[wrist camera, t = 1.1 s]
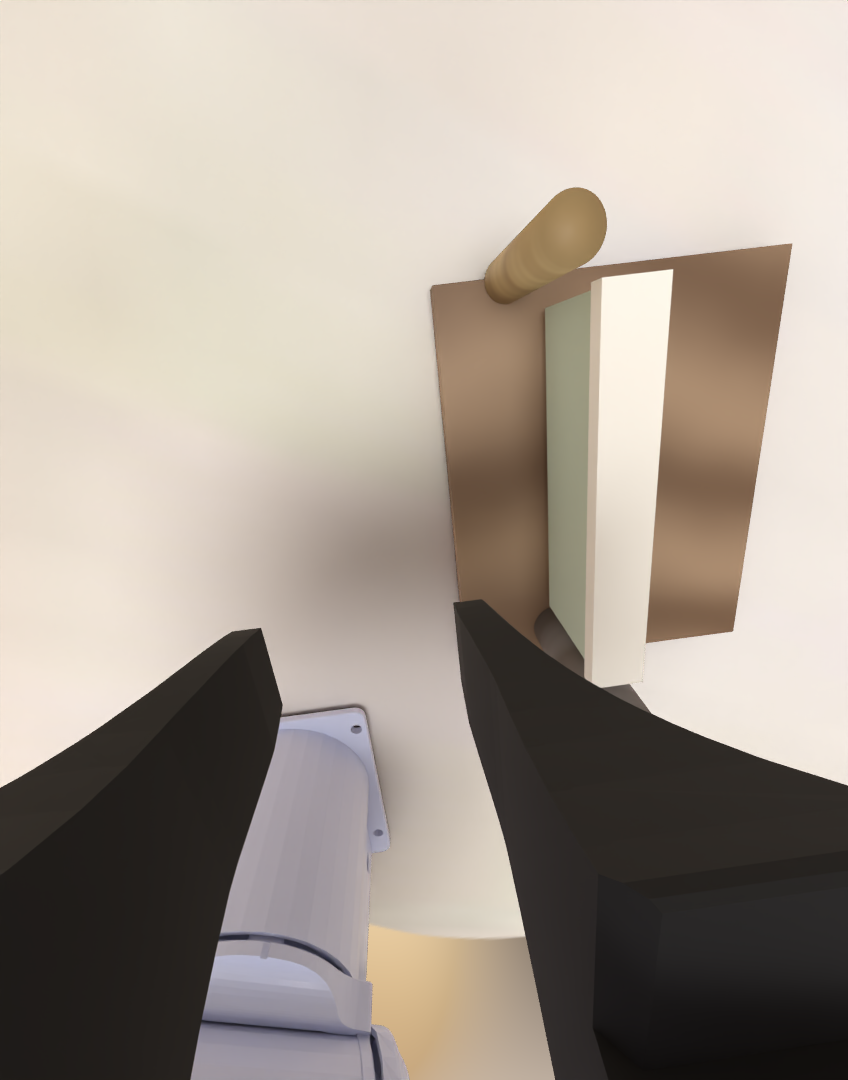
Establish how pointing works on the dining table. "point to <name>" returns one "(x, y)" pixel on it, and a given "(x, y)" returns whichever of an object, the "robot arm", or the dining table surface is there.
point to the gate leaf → (605, 465)
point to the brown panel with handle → (686, 435)
